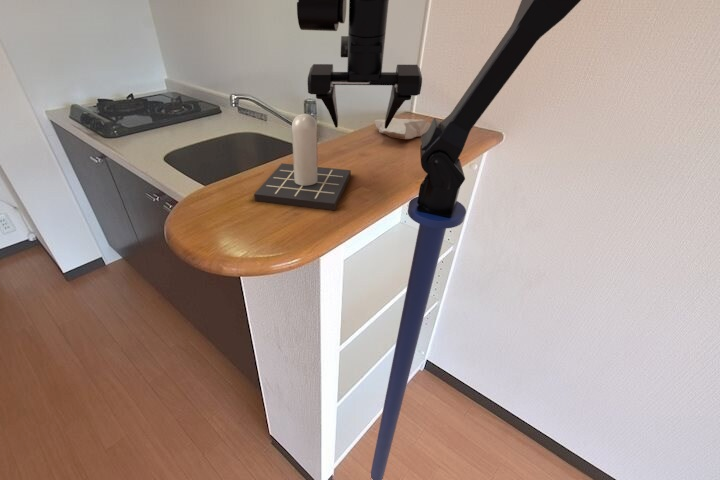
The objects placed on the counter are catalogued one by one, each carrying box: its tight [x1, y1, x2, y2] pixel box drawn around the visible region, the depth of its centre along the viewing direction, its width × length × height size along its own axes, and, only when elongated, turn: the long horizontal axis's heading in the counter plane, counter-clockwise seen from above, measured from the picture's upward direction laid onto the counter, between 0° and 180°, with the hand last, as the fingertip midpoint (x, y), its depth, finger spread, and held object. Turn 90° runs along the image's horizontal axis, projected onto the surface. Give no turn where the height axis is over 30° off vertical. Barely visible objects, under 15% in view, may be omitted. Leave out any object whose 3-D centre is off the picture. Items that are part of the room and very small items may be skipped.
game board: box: [253, 162, 352, 211], centre depth 73 cm, size 16×16×2 cm
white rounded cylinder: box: [291, 113, 319, 186], centre depth 68 cm, size 5×5×13 cm
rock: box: [374, 117, 431, 140], centre depth 99 cm, size 21×5×15 cm
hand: (361, 126), depth 66 cm, fingers open, 9 cm apart
